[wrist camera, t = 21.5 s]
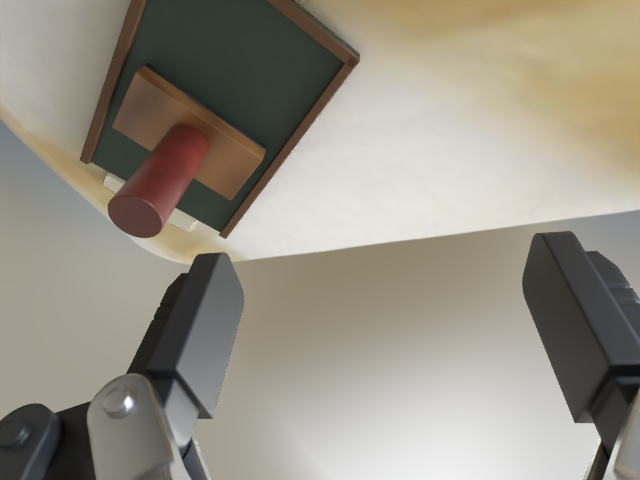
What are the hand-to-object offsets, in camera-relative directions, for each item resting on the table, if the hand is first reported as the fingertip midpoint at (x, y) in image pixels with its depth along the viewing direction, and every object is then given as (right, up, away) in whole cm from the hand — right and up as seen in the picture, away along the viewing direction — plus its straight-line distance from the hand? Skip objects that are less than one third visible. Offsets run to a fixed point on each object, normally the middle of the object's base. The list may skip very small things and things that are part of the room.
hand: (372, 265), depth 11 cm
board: (-11, +12, +22) cm, 28 cm away
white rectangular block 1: (-21, +6, +28) cm, 35 cm away
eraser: (-12, +10, +23) cm, 28 cm away
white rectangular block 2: (-17, +4, +31) cm, 35 cm away
